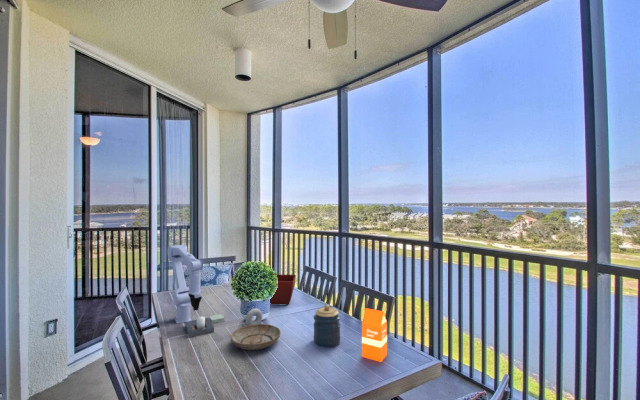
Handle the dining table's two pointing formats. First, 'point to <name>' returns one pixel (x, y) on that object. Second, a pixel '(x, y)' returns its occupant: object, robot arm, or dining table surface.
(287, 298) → the plant pot
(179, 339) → the dining table surface
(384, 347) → the orange juice
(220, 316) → the pale green block
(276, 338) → the brown shallow round bowl
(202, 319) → the barrel peg
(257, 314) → the grey stone ring
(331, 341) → the canister
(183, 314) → the robot arm
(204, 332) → the hole plate
